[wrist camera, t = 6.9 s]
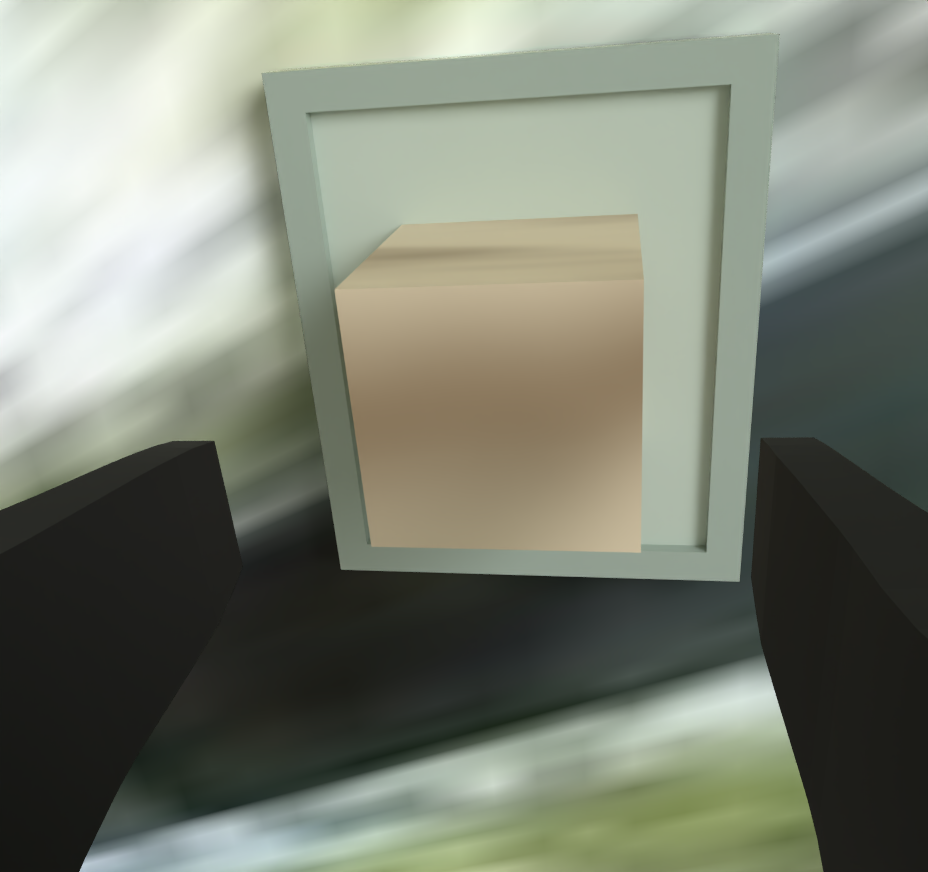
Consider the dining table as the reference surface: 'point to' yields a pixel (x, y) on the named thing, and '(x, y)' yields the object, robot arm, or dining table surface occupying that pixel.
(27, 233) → the dining table surface
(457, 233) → the maple cube
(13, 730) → the robot arm
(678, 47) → the grey green picture frame
